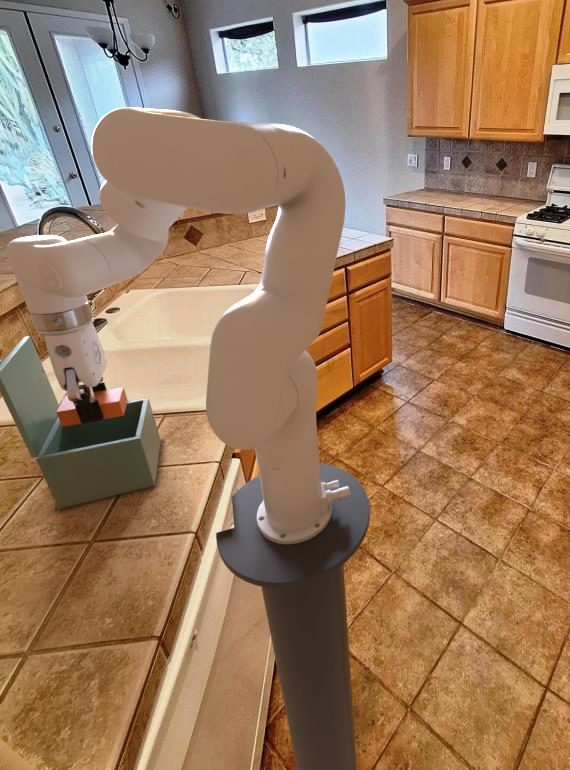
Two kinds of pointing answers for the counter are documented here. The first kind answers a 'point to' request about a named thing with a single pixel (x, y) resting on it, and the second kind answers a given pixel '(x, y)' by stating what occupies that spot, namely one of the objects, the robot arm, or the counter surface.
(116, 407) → the block
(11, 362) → the bin lid
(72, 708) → the counter surface
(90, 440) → the bin
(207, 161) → the robot arm
